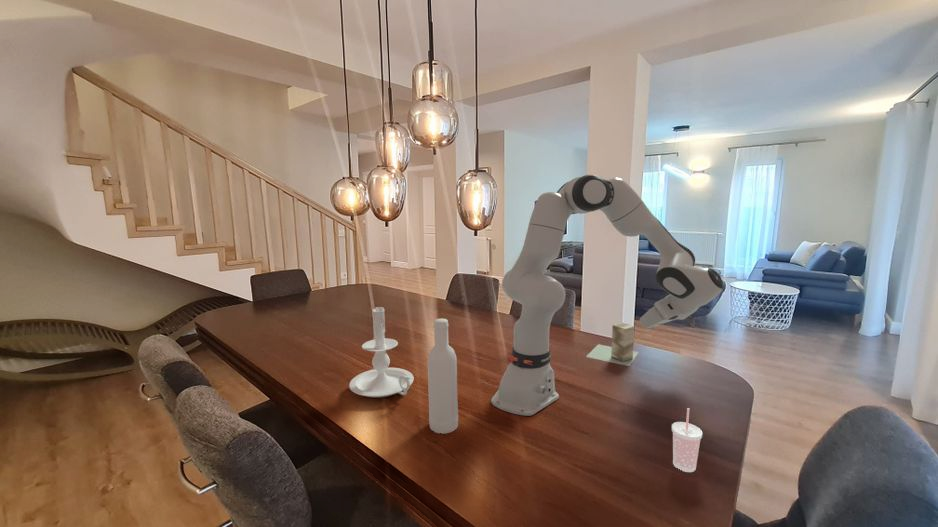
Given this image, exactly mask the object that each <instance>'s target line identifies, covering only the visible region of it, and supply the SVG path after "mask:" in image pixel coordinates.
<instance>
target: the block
mask: <svg viewBox="0 0 938 527" xmlns="http://www.w3.org/2000/svg"><path fill="white" fill-rule="evenodd" d="M611 332H612V335H611V347H612V350H611V358H614V359H616V360H619V361H621V362H626V361H629V360H631V359H633V351H634V343H635V342H634V340H635V325H632V324H629V323H624V322H619V323H615V324H612V331H611Z"/></svg>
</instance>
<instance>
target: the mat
mask: <svg viewBox="0 0 938 527" xmlns="http://www.w3.org/2000/svg"><path fill="white" fill-rule="evenodd" d="M611 350H612V346H608V345H604V344H600V343H598V344H597V345H596V346H595V347H594V348H593V349H592V350H591V351H590V352H588V353H587V355H586V356H585V357H586V358H590V359H594V360H599V361H603V362H606V363H607V362H609V363H612V364H613V363H614V364H617V365H621V366H626V367H627V366H628V367H630V366H631V364H632V362H634V360H635V359H636V357H637V355H638V354H639V351H635V350H633V359H631V360H629V361H626V362H621V361H619V360H616V359H614V358H611Z"/></svg>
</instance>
